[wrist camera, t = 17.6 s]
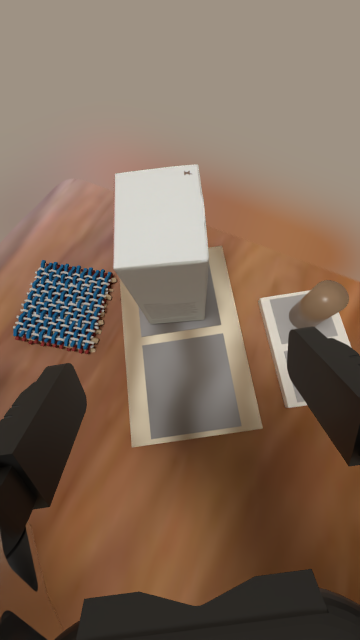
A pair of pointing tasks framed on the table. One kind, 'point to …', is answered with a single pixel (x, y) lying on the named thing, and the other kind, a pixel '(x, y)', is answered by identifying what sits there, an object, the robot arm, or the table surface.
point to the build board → (189, 369)
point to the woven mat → (65, 307)
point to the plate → (279, 348)
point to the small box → (162, 242)
